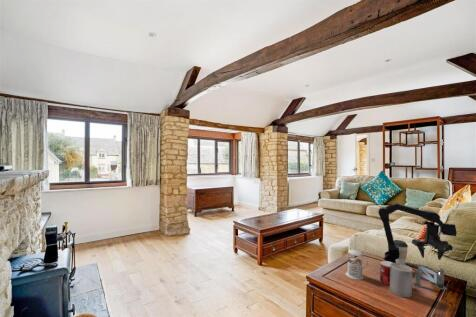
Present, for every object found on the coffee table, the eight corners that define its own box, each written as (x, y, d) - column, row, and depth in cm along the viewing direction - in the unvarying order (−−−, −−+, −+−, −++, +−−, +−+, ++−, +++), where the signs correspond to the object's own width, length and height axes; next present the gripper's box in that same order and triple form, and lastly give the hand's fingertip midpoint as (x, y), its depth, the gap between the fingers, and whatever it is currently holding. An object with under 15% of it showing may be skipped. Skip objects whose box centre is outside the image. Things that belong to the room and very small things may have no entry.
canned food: (381, 277, 138) (382, 259, 138) (397, 283, 133) (398, 264, 133) (378, 282, 133) (378, 263, 133) (394, 288, 127) (395, 268, 127)
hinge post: (438, 288, 128) (438, 269, 128) (434, 285, 132) (435, 266, 132) (447, 290, 127) (447, 270, 127) (442, 286, 131) (443, 267, 131)
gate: (438, 284, 131) (438, 273, 131) (436, 284, 131) (436, 273, 131) (419, 274, 142) (419, 265, 142) (417, 274, 142) (418, 265, 142)
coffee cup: (402, 260, 164) (402, 239, 164) (410, 266, 155) (411, 243, 155) (388, 259, 165) (389, 238, 165) (396, 265, 156) (396, 242, 156)
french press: (344, 270, 147) (346, 230, 147) (365, 273, 143) (366, 233, 143) (346, 277, 137) (347, 235, 137) (368, 281, 133) (369, 238, 133)
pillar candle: (390, 285, 130) (391, 258, 130) (412, 291, 124) (413, 263, 124) (388, 292, 123) (389, 264, 123) (411, 300, 117) (412, 270, 117)
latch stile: (414, 286, 130) (415, 271, 130) (412, 283, 133) (412, 268, 133) (422, 287, 129) (422, 272, 129) (419, 284, 132) (420, 269, 132)
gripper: (422, 235, 133) (420, 262, 134) (460, 239, 130) (458, 267, 130) (412, 229, 144) (410, 254, 144) (446, 232, 141) (445, 258, 141)
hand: (430, 258), depth 140 cm, fingers open, 8 cm apart
